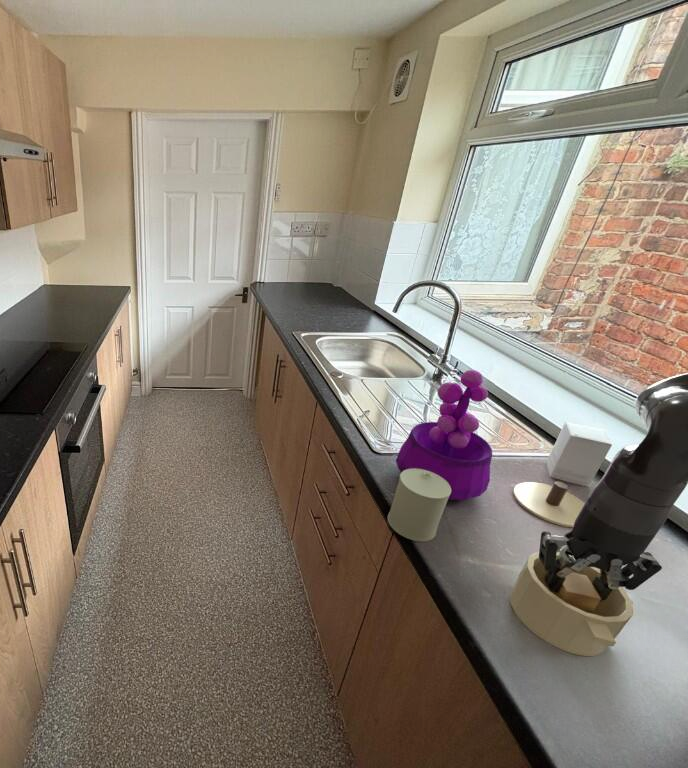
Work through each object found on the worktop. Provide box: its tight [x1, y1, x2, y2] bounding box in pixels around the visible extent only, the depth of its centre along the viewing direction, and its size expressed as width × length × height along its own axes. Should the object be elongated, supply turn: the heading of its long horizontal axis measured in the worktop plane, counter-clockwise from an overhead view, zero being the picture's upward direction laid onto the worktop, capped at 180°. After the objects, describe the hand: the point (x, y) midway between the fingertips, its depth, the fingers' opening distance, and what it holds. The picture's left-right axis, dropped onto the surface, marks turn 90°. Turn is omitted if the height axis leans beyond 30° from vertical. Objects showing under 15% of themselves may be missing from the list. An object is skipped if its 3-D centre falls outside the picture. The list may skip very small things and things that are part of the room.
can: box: [387, 468, 451, 542], centre depth 86 cm, size 9×9×12 cm
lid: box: [512, 480, 585, 529], centre depth 91 cm, size 14×14×6 cm
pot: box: [509, 548, 634, 657], centre depth 68 cm, size 13×18×8 cm
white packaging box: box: [545, 421, 613, 488], centre depth 99 cm, size 7×7×13 cm
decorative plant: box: [395, 369, 493, 501], centre depth 93 cm, size 19×18×30 cm
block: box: [545, 573, 601, 614], centre depth 67 cm, size 4×4×4 cm
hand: (572, 592), depth 67 cm, fingers open, 5 cm apart
